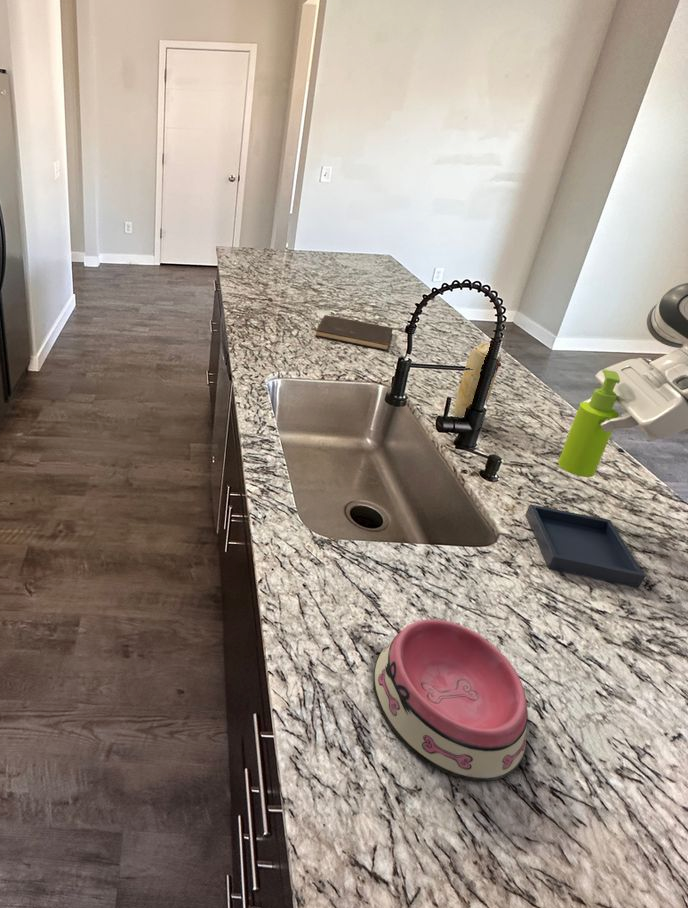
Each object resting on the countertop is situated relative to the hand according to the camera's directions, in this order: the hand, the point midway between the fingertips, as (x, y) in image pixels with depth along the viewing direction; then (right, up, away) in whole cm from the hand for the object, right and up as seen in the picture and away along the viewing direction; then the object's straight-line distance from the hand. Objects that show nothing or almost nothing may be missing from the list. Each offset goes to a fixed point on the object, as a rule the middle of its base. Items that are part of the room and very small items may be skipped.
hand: (593, 417), depth 100 cm
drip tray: (-5, -24, -2) cm, 24 cm away
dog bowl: (-42, -35, -28) cm, 61 cm away
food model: (-4, -5, +37) cm, 37 cm away
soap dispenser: (0, -11, +5) cm, 12 cm away
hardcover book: (-18, +17, +81) cm, 85 cm away
